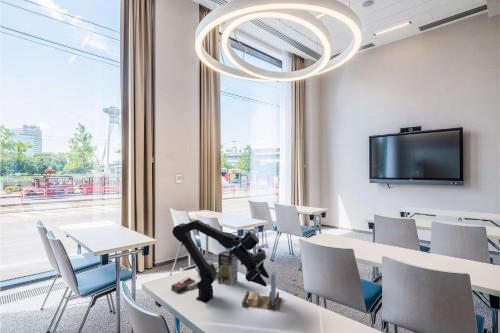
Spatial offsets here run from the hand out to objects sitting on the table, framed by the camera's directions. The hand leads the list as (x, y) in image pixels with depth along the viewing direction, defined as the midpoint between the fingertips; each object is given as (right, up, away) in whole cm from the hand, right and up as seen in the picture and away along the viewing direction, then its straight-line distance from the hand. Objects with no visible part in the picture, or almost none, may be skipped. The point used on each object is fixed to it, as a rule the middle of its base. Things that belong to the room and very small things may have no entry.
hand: (267, 281), depth 126 cm
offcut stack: (-7, -10, +1) cm, 12 cm away
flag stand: (-34, -11, +35) cm, 50 cm away
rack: (-2, -10, 0) cm, 11 cm away
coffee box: (-20, -11, +23) cm, 32 cm away
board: (+3, -10, -1) cm, 10 cm away
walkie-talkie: (-41, -11, +19) cm, 46 cm away
